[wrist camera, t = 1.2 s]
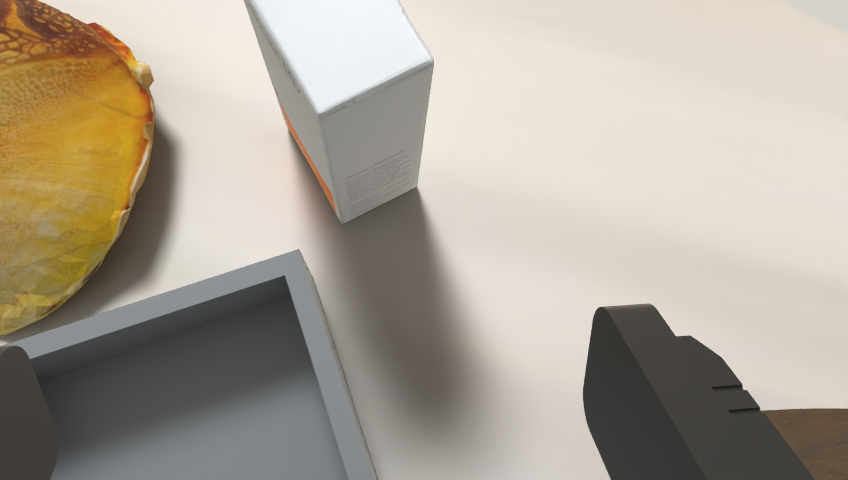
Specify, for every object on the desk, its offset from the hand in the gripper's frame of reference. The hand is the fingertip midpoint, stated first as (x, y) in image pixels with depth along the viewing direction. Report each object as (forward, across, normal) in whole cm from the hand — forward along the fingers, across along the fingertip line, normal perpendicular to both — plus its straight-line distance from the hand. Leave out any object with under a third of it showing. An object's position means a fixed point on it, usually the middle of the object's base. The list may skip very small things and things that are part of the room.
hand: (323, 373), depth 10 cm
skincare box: (+23, 0, +6) cm, 23 cm away
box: (+13, +6, +15) cm, 21 cm away
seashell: (+24, +17, +6) cm, 29 cm away
